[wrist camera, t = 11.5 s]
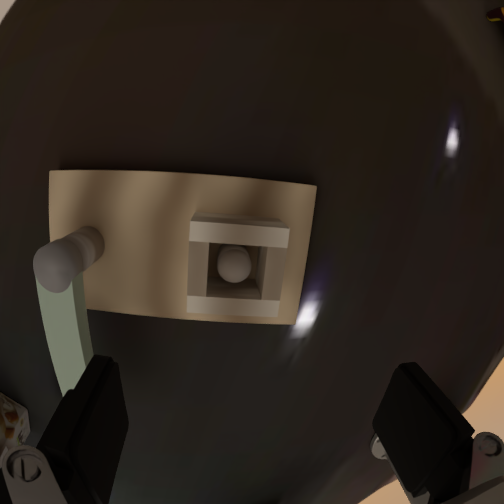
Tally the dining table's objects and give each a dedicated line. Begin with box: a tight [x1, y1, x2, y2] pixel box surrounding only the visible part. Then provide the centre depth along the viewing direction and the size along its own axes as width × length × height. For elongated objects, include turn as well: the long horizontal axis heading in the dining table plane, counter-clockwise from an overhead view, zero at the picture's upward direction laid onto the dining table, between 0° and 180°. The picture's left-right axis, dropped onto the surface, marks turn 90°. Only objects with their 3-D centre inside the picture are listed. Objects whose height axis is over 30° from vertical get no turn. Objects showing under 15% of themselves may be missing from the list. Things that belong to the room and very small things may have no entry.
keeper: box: [33, 239, 94, 397], centre depth 19 cm, size 3×18×2 cm, turn 174°
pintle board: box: [49, 170, 317, 324], centre depth 22 cm, size 22×12×6 cm, turn 84°
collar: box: [187, 212, 290, 317], centre depth 22 cm, size 6×6×4 cm
